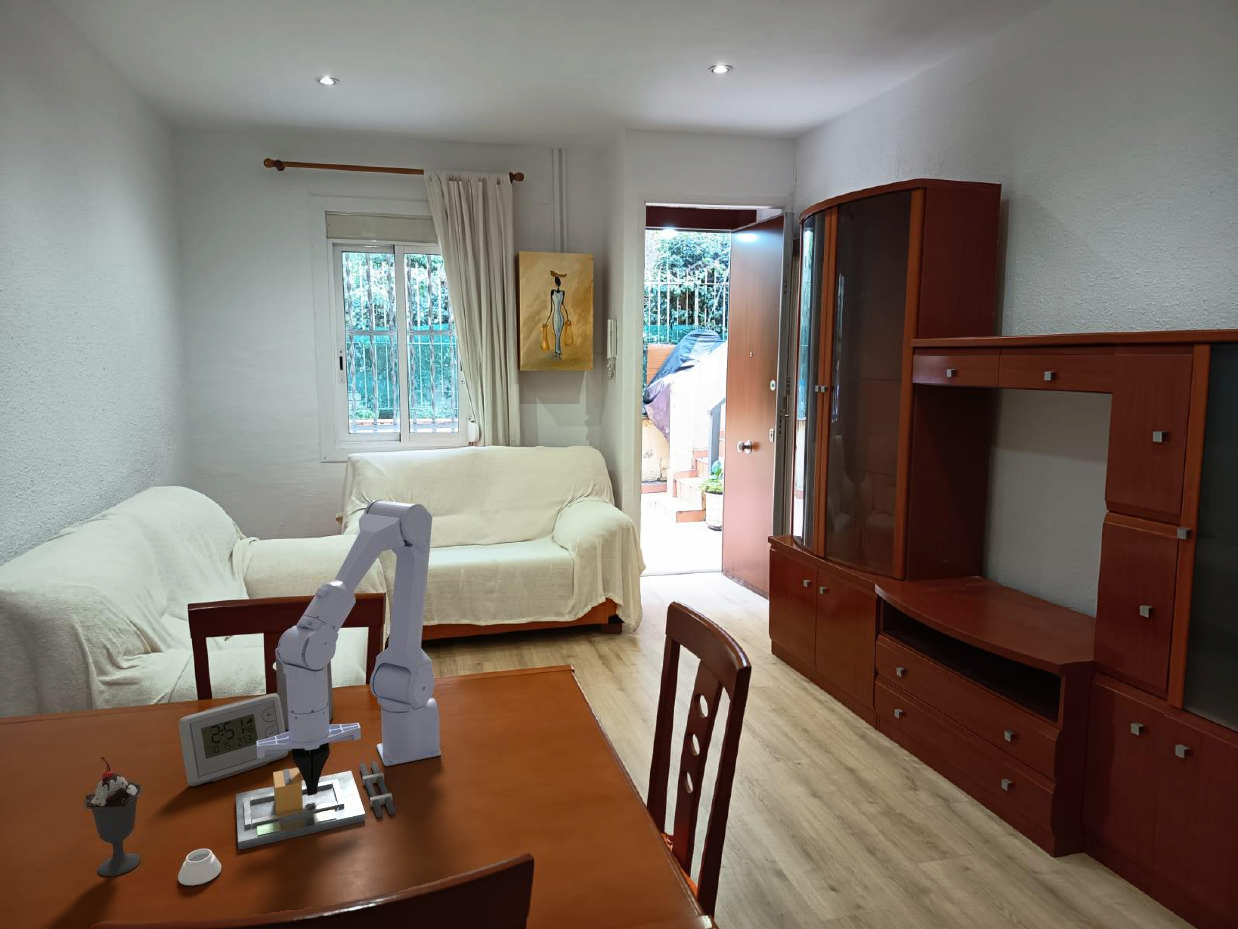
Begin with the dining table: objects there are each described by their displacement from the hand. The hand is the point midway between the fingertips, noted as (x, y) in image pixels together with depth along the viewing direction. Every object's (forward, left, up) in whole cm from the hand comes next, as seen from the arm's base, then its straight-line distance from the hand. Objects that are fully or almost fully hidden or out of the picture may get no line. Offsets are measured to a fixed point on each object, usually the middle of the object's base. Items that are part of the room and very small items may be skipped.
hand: (311, 792), depth 124 cm
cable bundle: (-10, -1, -3) cm, 10 cm away
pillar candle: (-2, -33, -3) cm, 33 cm away
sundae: (+25, +4, -3) cm, 25 cm away
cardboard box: (+3, 0, -1) cm, 4 cm away
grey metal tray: (+2, 0, -3) cm, 3 cm away
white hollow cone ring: (+15, +11, -3) cm, 19 cm away
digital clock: (+10, -19, -3) cm, 21 cm away
